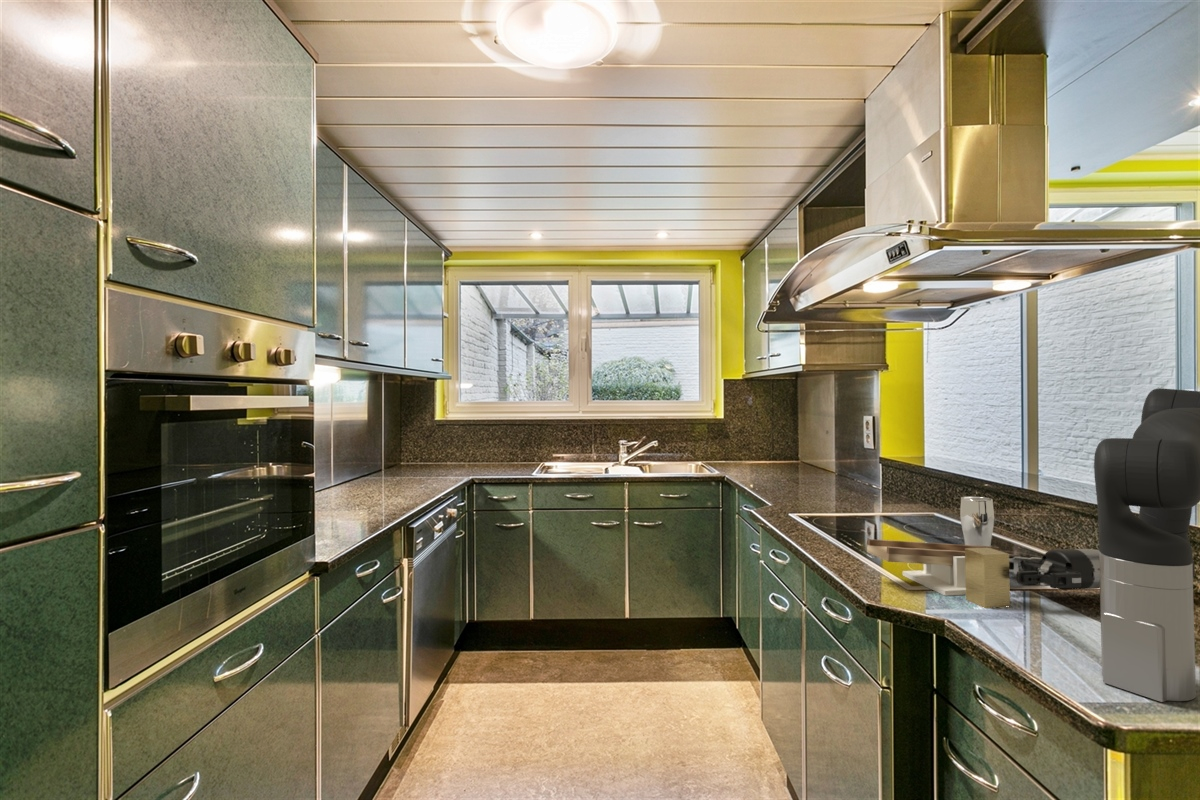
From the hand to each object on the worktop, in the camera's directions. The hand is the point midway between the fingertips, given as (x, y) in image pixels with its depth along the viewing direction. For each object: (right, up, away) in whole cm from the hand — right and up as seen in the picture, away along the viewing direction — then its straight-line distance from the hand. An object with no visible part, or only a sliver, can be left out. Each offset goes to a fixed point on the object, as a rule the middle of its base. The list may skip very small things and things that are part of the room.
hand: (1000, 571), depth 111 cm
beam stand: (-4, -6, +12) cm, 14 cm away
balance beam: (-4, -1, +12) cm, 12 cm away
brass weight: (-3, -6, 0) cm, 7 cm away
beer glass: (+16, -6, +31) cm, 35 cm away
